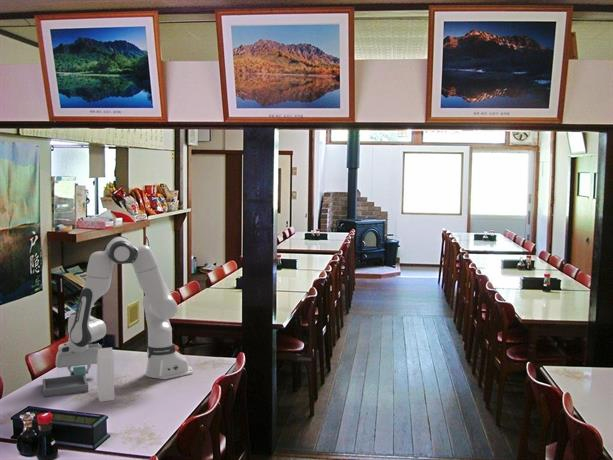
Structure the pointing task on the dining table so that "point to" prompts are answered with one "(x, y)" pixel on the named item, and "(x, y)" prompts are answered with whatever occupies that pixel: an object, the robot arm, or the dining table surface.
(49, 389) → the tray
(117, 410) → the dining table surface
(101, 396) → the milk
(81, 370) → the block
